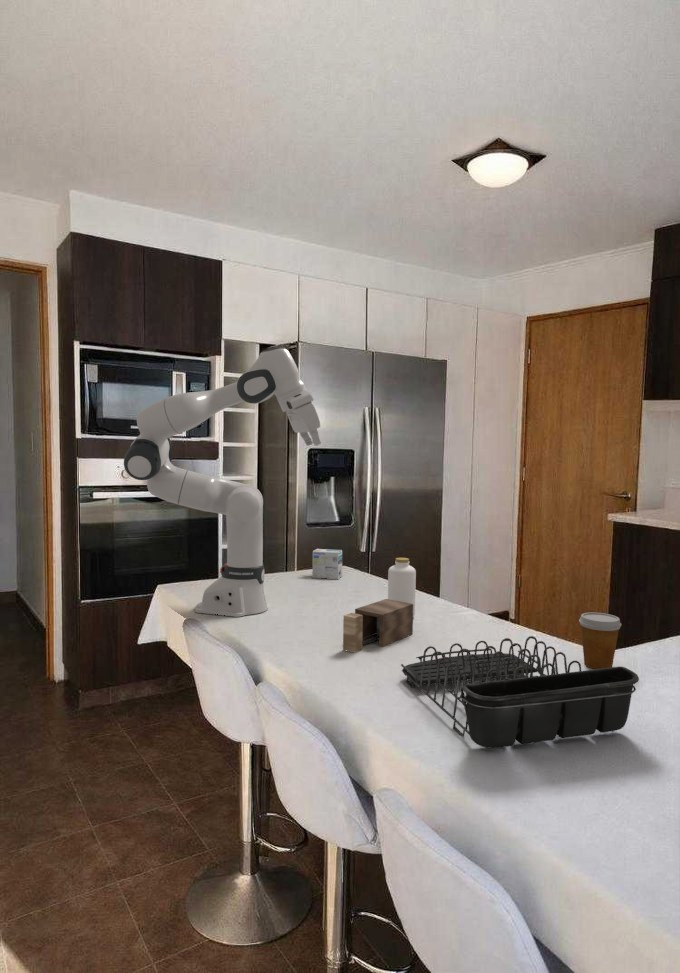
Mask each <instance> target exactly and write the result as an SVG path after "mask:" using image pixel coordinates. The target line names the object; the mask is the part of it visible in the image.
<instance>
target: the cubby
mask: <svg viewBox="0 0 680 973" xmlns="http://www.w3.org/2000/svg"><path fill="white" fill-rule="evenodd" d="M354 613H355V614H360V615H363V627H362V640H364V639H366V638H368V637H372V636H374V635H377V617H378V618H380V633H379V639H378V641H379V642H378V643H379V644H378V645H379V647H383V648H384V647H385V646H388V645H390V644H392V643H395V642H396V641H399V640H402V639H404V638H406V636H407V637H409V636H411V635H413V634H414V628H413V627H414V617H413V604H411V603H405V602H400V601H395V600H389V599H388V598H384V599H381V600H379V601H376V602H373V603H370V604H366V605H363V606H360V607H357V608H355V609H354ZM408 635H409V636H408Z"/></svg>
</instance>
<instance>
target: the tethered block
mask: <svg viewBox="0 0 680 973" xmlns="http://www.w3.org/2000/svg"><path fill="white" fill-rule="evenodd" d="M342 621H343V622H342V623H343V628H342V629H343V630H342V631H343V634H342V635H343V636H342V640H343V641H342V650H343V651H345V650H347V651H346V652H349V651H350V652H349V653H353V652H355V653H357V652H360V651H362V650H363V646H365V645H367V644H370V643H372V642H375V641H377V640H378V641H379V633H380V618H378V617H377V633H376V636H374V637H372V638H369V639H366V640H364V641H363V639H362V627H363V615H360V614H355V612H350V613H347V614H344V615H343V620H342ZM359 650H360V651H359Z"/></svg>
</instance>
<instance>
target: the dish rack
mask: <svg viewBox="0 0 680 973" xmlns="http://www.w3.org/2000/svg"><path fill="white" fill-rule="evenodd" d="M530 639H533V640H534V641H535V644H534V646H533V647H534V648H533V652H532V653H531V651H530V650H529V649H527V645H528V642H529V640H530ZM504 642H510V647H509V651H508V653H503V651H502V648H503V643H504ZM481 643H483V644H484V645H485V648H478V645H479V644H481ZM538 644H542V645H543V647H544V650H543V655H542V659H541V658H540V656H539V649H538V647H539V646H538ZM455 646H458V647H459V648H460V649H459V650H454V651H452V650H453V648H454V647H455ZM514 647H519V650H518V651H517V652H518V655H515V653H514ZM474 648H475V649H467V648H463V646H462V644H461V643H456V642H455V643H453V644H451V646H450V648H449V651H445V652H441V651H438V650H437V649H436V647H434V646H428V647H426V648H425V649H424V652H423V655H421V656H416V657H415V659H418V660H420V661H418V662H414V663H408V664H406V665H404V664H403V663H401V664H400V666H401V667H402V669H401V672H402V673H403V674H404V675H405V676H406V681H405V683H406V684H407V685H408V686H409V687H410V688H412V689H413V688H414V687H415V686H416V687H417V688H418V689H419V690H420V691H421V692H422V693H424V695H426V696H427V698H429V700H431V701H432V702H433V703H434V704H435V705H437V706H438V707H439V708H440V709H441V710H442V711H443V712H444V713H445V714H446V715H447V716H448V717H449V718H451V719H452V720H453V726H452V730H454V731H455V732H456V733H457V734H458V735H459V736H461V737H464V736H465V734H466V733H467V735H469V736H470V740H472V741H473V742H474V743H475V744H476V745H478V746H480V747H483V748H486V749H500V748H501V749H502V748H507V747H513V746H514V744H515V743H516V742H517V743H518V744H519V745H527V744H535V743H540V742H541V743H542V742H548V741H553V740H555V738H556V737H557V736H558V737H559V738H561V739H568V738H574V737H581V736H591V735H594V734H595V732H597V731H598V732H599V733H601V734H602V733H609V732H614V731H619V730H621V729H623V728H624V727H625V725H626V723H627V721H628V718H629V712H630V707H631V701H632V695H633V694H634V693H635V692H636V691H637V689H636V686H635V684H637V683H638V682H639V681H640V678H639V675H638V674H637V673H636V672H635V671H633V670H631V669H630V668H626V667H625V666H619V665H618V666H612V667H611V668H603V669H587V670H582V665H581V662H580V661H578V660H572V661H570V662H569V664H568V663H567V657H566V654H565V653H564V652H563V651H559V652H557V651H556V648H555V647H553V646H551V645H549V646H547V645H546V643H545V641H542V640H539V641H538V640H537V637H535V636H533V635H530V636H528V637H527V638H526V640H525V643H524V648H522V646H521V645H520V644H519V643H518V642H517V643H516V642H515V643H513V641H512V639H511V638H509V637H505V638H504V639H502V640H501V642H500V646H499V650H496V648H495V647H494V646H493V645H488V643H487V641H485V640H478V642H477V643H476V644H475V647H474ZM429 649H432V650H433V653H431V654H426V653H427V652H428V651H429ZM549 649H552V651H553V653H554V654H553V658H552V662H551V663H549V660H548V659H549V658H548V650H549ZM493 651H494V652H493ZM478 652H483V653H480V654H479V653H478ZM526 652H527V653H528V654H526ZM464 653H466V654H464ZM477 653H478V654H477ZM452 654H457V655H456V656H452ZM460 654H461V655H460ZM446 655H448V656H446ZM558 655H561V656H563V660H564V662H563V664H564V672H562V673H559V671H558V670H559V669H558V660H557V656H558ZM438 656H441V657H440V658H439V657H438ZM429 657H430V659H428V660H426V658H429ZM525 658H527V661H525ZM535 658H536V659H535ZM541 660H542V661H541ZM534 663H535V664H537V666H536V667H534ZM574 663H576V664H578V668H579V670H578V671H570V670H571V666H572V665H573V664H574ZM567 664H568V665H567ZM549 666H550V667H551V672H550V670H549ZM545 669H546V673H547V674H546V673H544V671H545ZM534 673H538V674H539V675H534ZM508 676H513V678H510V677H508ZM521 676H522V677H521ZM502 677H505V678H503V680H502ZM477 679H478V680H477ZM483 679H485V682H483ZM474 680H477V681H474ZM411 682H412V683H411ZM465 682H466V683H465ZM448 683H452V689H450V690H449V686H448ZM431 685H435V686H434V695H433V696H431V695H430V694H429V692H430V686H431ZM423 686H427V688H426V690H425V689H423V688H422V687H423ZM438 686H441V687H443V691H442V698H441V699H442V701H441V704H440V703H439V702H438V701H436V700H437V693H438ZM459 690H460V696H458V694H459ZM446 691H447V692H448V693H450V695H452V696H453V697H454V705H453V706H454V707H453V713H452V714H453V715H452V714H451V713H450V712H449V711H448V710H446V708H444V706H445V697H446V695H445V694H446ZM458 702H459V703H461V704H462V705H463V708H464V713H465V717H466V718H465V720H466V721H465V726H464V725H463V724H462V723H461V722H460V721H459V720H458V719H457V718H456V712H457V707H458ZM456 724H457V725H458V726H459V727H460V728H461V729H462V730H463V731H461V730H460V729H459V728H457V726H456Z"/></svg>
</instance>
